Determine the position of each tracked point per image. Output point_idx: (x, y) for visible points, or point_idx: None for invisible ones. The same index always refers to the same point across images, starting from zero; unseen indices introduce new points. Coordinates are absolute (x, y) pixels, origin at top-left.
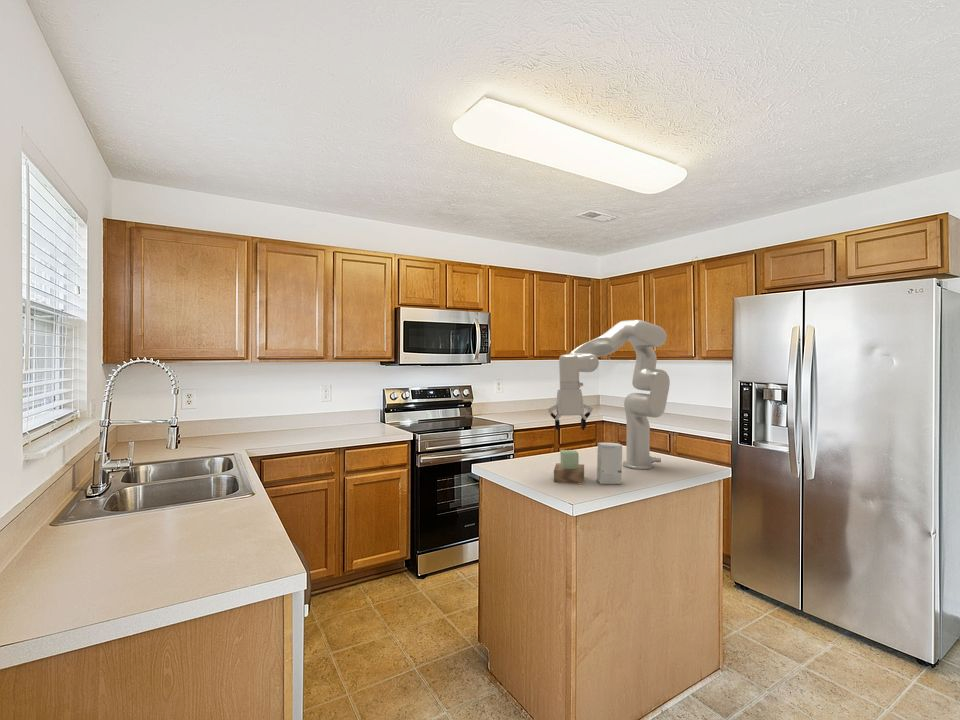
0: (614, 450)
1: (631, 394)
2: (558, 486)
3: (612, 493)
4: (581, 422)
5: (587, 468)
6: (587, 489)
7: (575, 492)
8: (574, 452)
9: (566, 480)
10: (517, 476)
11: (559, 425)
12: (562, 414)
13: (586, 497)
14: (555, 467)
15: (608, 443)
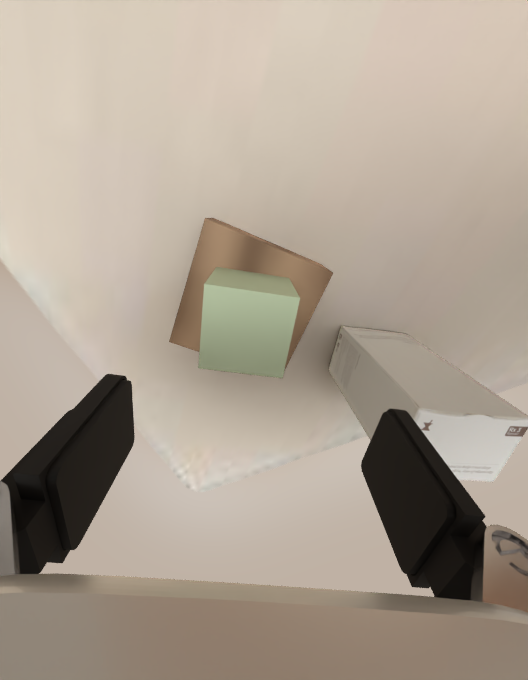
0: None
1: None
2: (186, 372)
3: (317, 442)
4: (410, 490)
5: (402, 118)
6: (266, 407)
7: (223, 426)
8: (270, 353)
9: None
10: (30, 220)
11: (107, 490)
12: None
13: (239, 460)
14: (183, 303)
15: (456, 448)
